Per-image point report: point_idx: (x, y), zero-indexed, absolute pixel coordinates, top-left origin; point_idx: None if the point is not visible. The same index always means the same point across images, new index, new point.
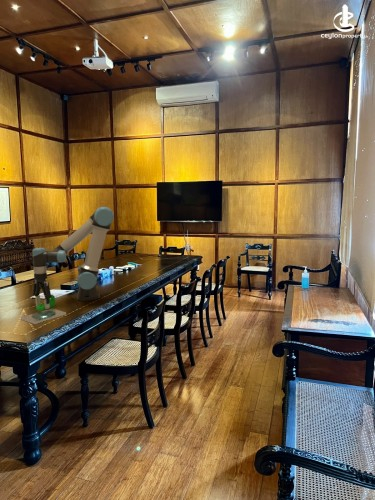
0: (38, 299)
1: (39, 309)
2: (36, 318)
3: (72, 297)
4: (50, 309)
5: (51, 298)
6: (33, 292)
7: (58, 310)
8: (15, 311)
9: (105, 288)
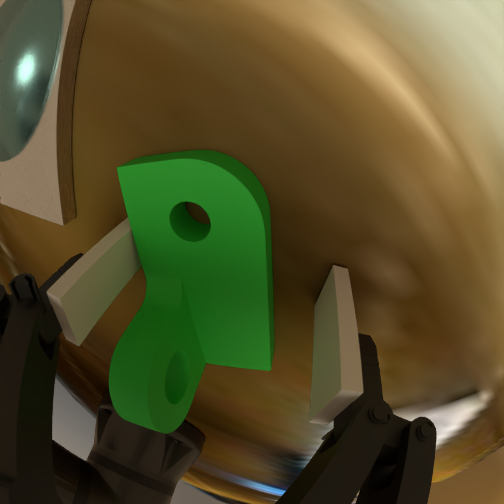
0: (323, 361)
1: (159, 156)
2: (5, 2)
3: (237, 437)
4: (49, 195)
5: (175, 391)
6: (421, 461)
7: (8, 203)
8: (461, 36)
9: (215, 470)
